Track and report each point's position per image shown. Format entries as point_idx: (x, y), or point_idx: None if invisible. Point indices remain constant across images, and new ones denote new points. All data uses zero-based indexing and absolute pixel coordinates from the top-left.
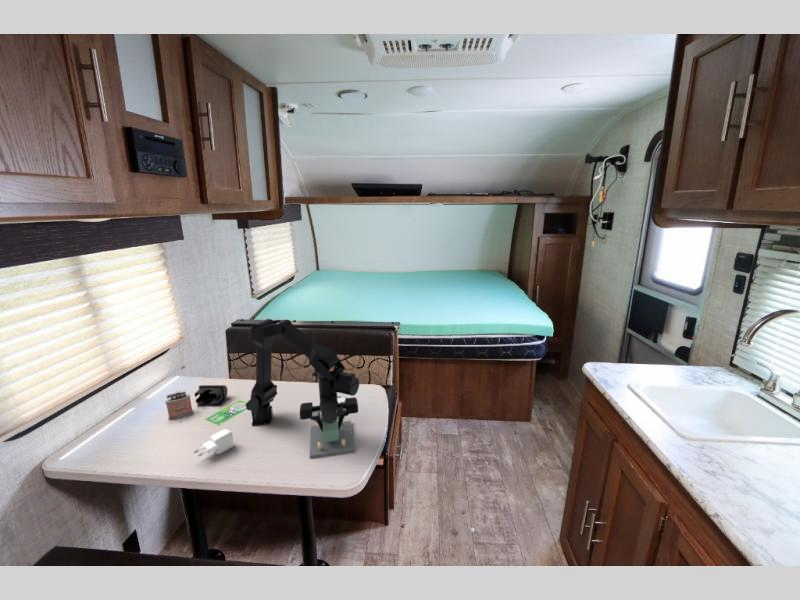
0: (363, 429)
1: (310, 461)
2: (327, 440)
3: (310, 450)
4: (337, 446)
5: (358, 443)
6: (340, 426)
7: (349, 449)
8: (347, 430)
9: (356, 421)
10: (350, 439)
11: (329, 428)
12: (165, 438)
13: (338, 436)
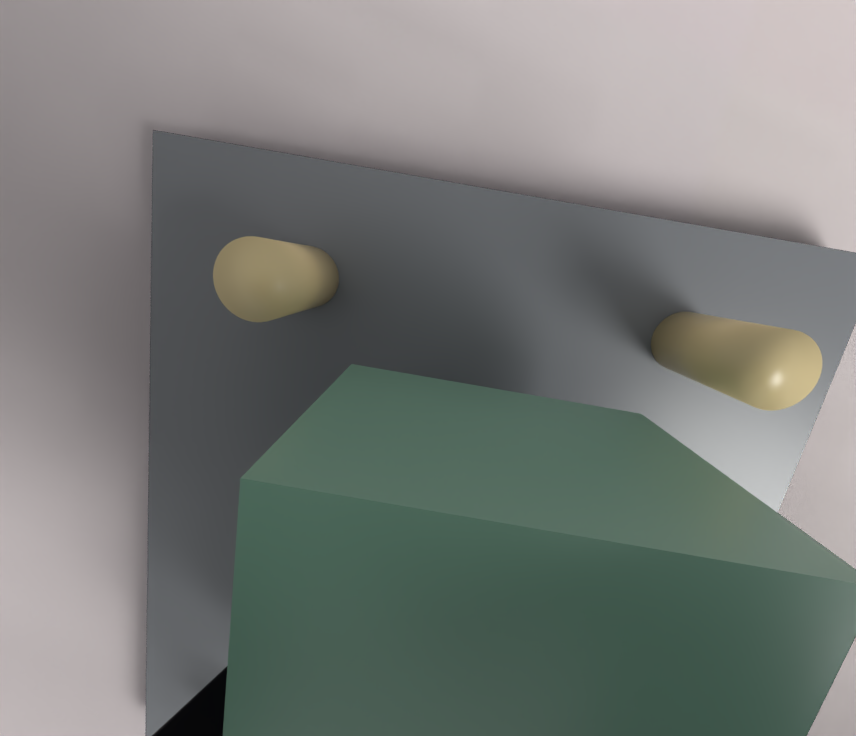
0: (24, 564)
1: (848, 184)
2: (576, 413)
3: (823, 378)
4: (406, 311)
5: (109, 318)
6: (221, 674)
7: (230, 155)
8: (207, 601)
9: (100, 724)
10: (187, 400)
11: (565, 676)
12: None
13: (338, 391)
